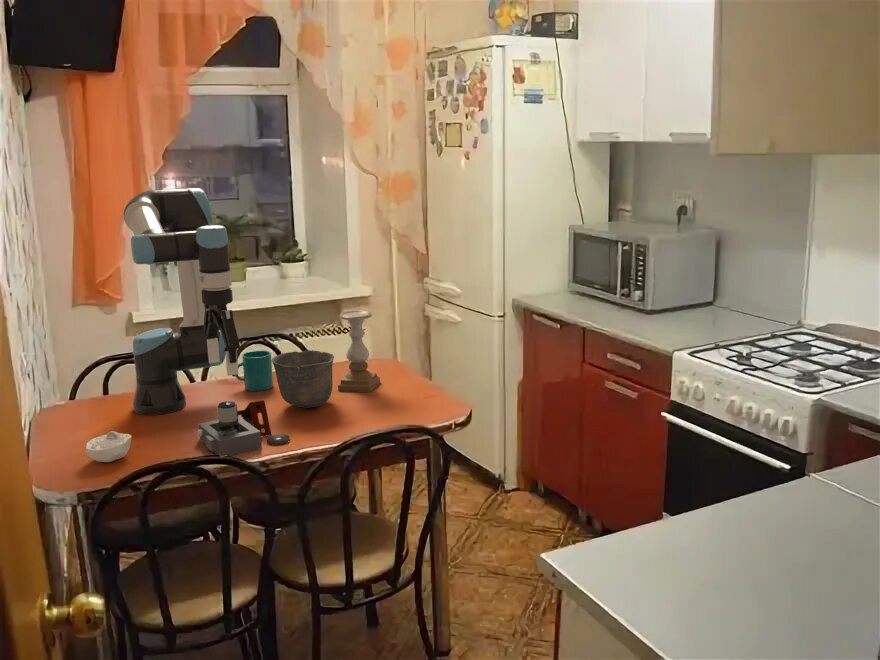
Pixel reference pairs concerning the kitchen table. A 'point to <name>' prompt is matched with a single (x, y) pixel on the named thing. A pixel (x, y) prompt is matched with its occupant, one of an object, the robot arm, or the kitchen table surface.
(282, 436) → the lens cap
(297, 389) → the bowl
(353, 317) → the candle holder
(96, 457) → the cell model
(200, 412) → the kitchen table surface
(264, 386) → the cup
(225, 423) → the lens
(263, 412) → the bracket
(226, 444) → the grey square tray
